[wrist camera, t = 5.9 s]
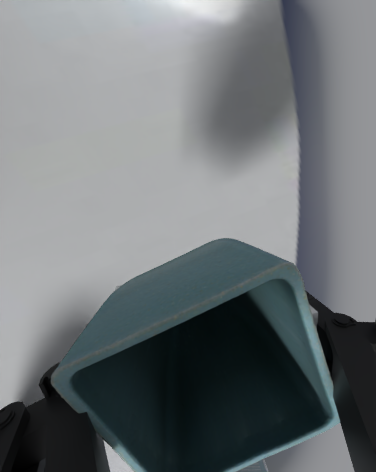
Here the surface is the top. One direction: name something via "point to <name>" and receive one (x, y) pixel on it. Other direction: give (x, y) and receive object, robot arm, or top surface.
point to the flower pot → (203, 363)
